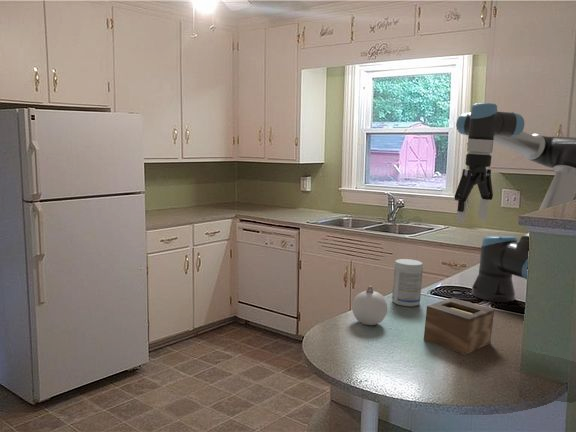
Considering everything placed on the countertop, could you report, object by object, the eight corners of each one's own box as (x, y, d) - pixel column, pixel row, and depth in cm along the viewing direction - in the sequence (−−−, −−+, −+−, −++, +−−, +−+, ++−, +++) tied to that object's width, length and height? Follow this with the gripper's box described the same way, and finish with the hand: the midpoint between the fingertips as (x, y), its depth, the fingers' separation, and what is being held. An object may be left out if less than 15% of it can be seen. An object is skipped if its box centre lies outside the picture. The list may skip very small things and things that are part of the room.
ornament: (360, 331, 157) (363, 291, 155) (346, 319, 166) (348, 281, 164) (391, 328, 160) (395, 290, 158) (375, 317, 170) (378, 280, 168)
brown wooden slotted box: (449, 329, 162) (452, 297, 161) (490, 343, 153) (494, 309, 151) (423, 339, 153) (426, 305, 151) (465, 355, 143) (469, 319, 142)
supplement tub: (425, 305, 185) (429, 263, 183) (405, 309, 180) (409, 266, 178) (405, 297, 193) (408, 257, 191) (385, 300, 188) (389, 259, 186)
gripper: (486, 153, 179) (479, 216, 182) (447, 152, 162) (440, 221, 165) (508, 155, 173) (501, 219, 177) (470, 153, 156) (462, 225, 160)
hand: (471, 220), depth 171 cm, fingers open, 13 cm apart
